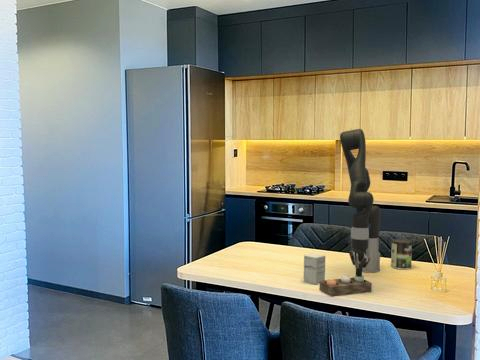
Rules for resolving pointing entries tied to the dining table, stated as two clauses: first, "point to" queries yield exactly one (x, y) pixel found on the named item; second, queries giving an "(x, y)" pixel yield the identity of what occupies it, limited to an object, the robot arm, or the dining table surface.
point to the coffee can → (401, 254)
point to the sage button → (359, 279)
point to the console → (345, 287)
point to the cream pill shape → (345, 279)
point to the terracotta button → (331, 282)
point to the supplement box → (314, 268)
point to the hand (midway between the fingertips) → (358, 276)
